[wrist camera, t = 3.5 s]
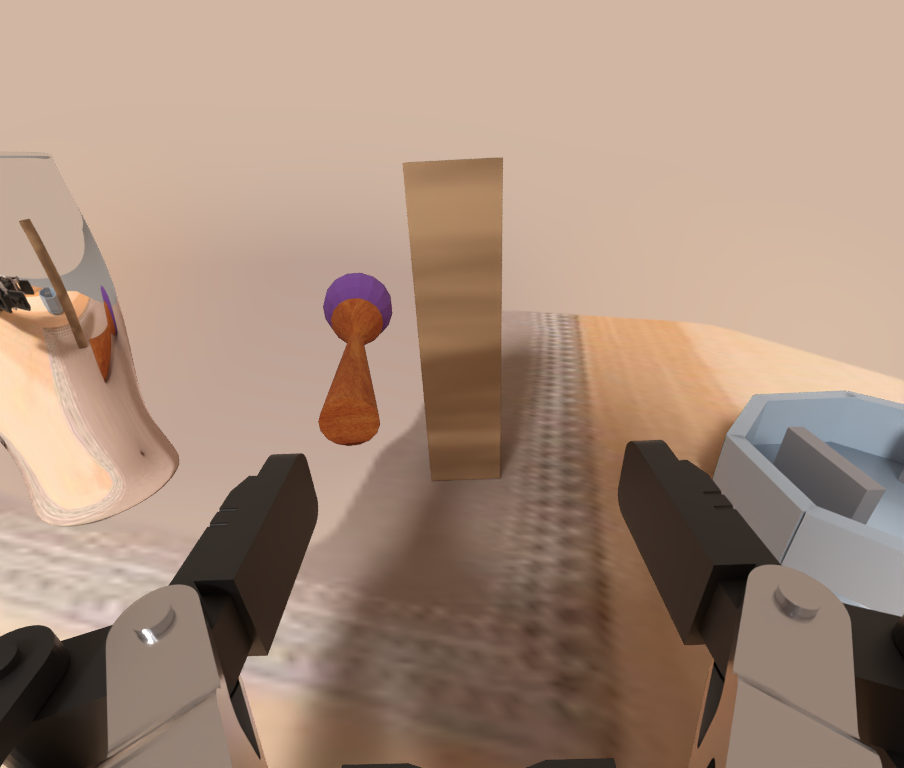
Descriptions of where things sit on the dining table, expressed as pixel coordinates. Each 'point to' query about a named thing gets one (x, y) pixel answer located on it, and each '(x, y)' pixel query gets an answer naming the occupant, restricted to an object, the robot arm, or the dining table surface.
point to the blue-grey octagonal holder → (824, 489)
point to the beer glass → (67, 359)
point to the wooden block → (458, 309)
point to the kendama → (354, 357)
